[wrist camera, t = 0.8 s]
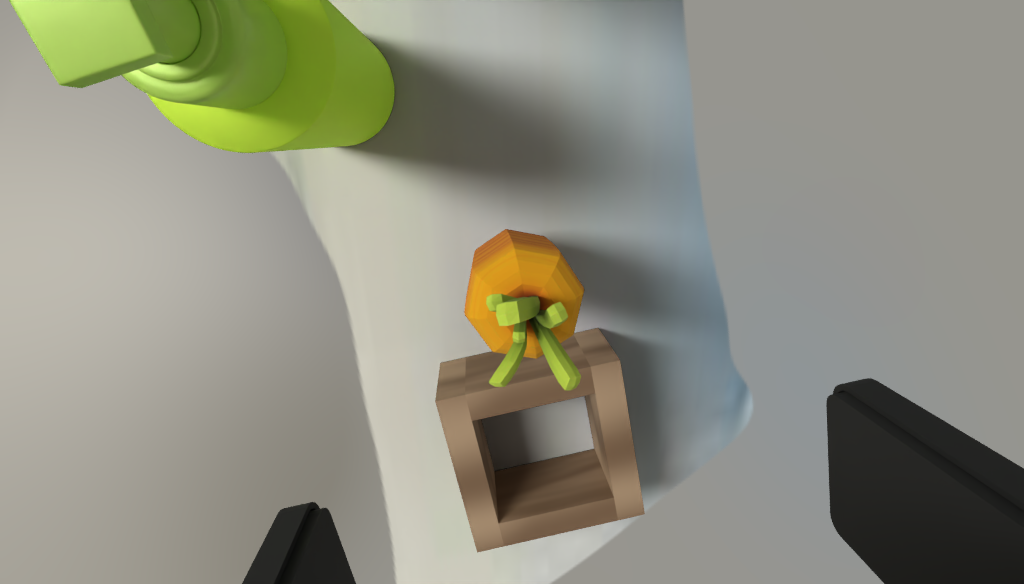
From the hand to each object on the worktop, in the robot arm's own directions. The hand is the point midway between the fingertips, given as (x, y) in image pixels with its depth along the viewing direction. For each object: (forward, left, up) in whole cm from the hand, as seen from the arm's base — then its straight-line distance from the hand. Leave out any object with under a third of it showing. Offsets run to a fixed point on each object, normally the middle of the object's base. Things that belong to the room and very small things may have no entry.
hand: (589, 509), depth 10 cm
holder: (+11, 0, -22) cm, 25 cm away
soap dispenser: (-11, -7, -23) cm, 26 cm away
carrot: (0, 0, -23) cm, 23 cm away
